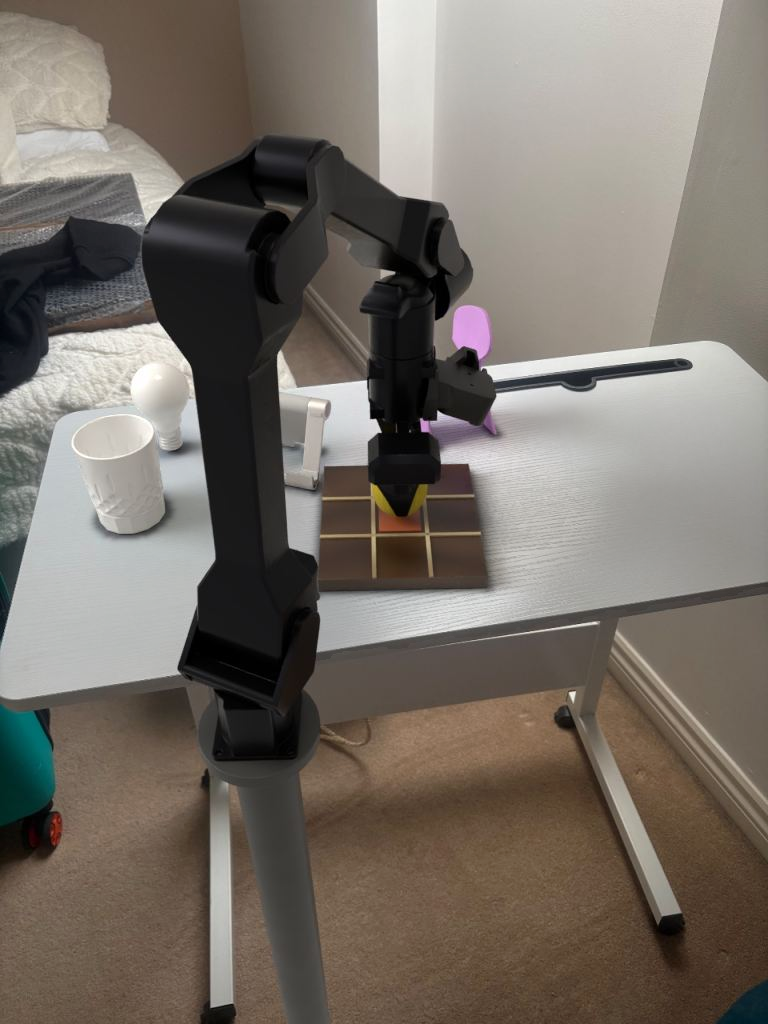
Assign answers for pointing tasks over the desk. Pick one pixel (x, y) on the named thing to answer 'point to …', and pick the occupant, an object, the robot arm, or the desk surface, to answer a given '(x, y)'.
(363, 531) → the board
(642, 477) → the desk surface
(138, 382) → the lightbulb
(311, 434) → the tablet stand
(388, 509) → the lemon
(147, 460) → the white cup
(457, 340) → the toy chair
